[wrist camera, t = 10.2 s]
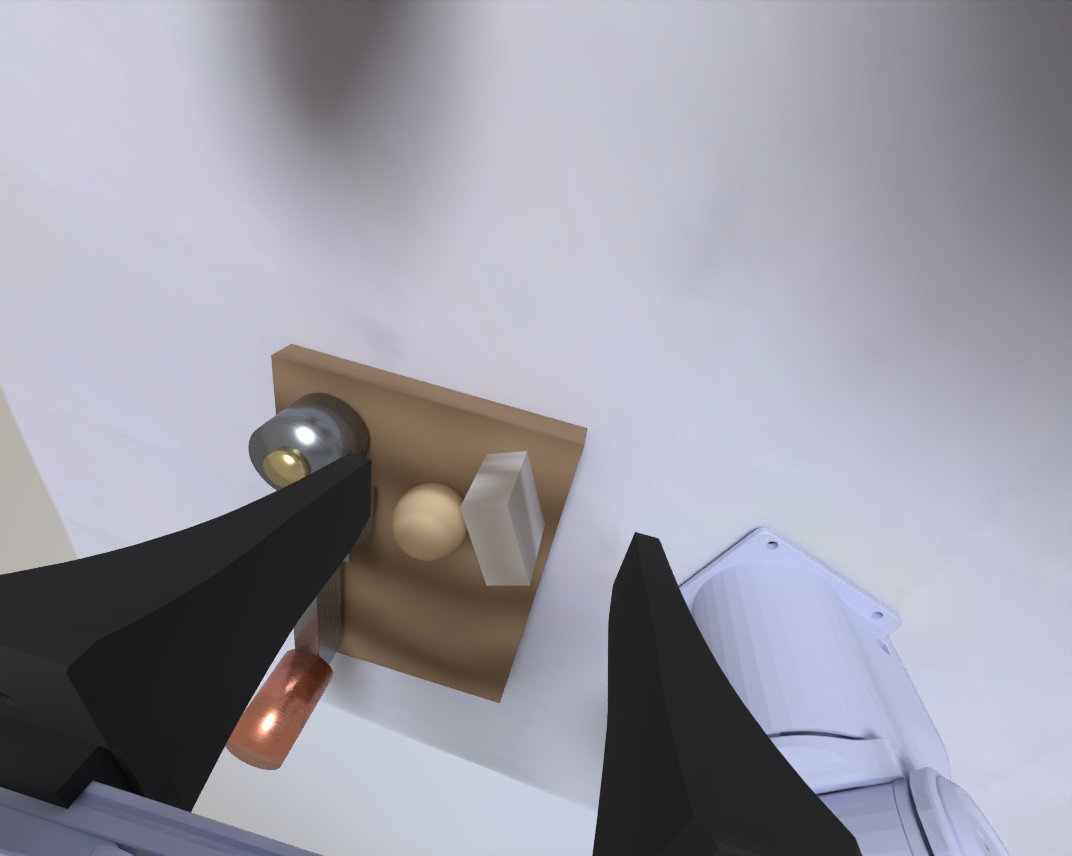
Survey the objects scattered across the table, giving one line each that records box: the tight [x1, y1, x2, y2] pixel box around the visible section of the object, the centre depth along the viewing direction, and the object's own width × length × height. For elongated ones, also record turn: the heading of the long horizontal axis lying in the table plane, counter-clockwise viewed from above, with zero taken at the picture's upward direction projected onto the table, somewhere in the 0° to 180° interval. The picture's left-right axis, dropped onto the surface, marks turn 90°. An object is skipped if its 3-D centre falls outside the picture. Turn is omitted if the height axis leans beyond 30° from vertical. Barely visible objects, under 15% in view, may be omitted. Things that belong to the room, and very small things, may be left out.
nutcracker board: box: [271, 344, 587, 703], centre depth 27 cm, size 22×15×6 cm
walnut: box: [392, 483, 468, 561], centre depth 23 cm, size 4×4×4 cm
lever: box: [225, 393, 375, 770], centre depth 24 cm, size 20×5×8 cm, turn 168°
